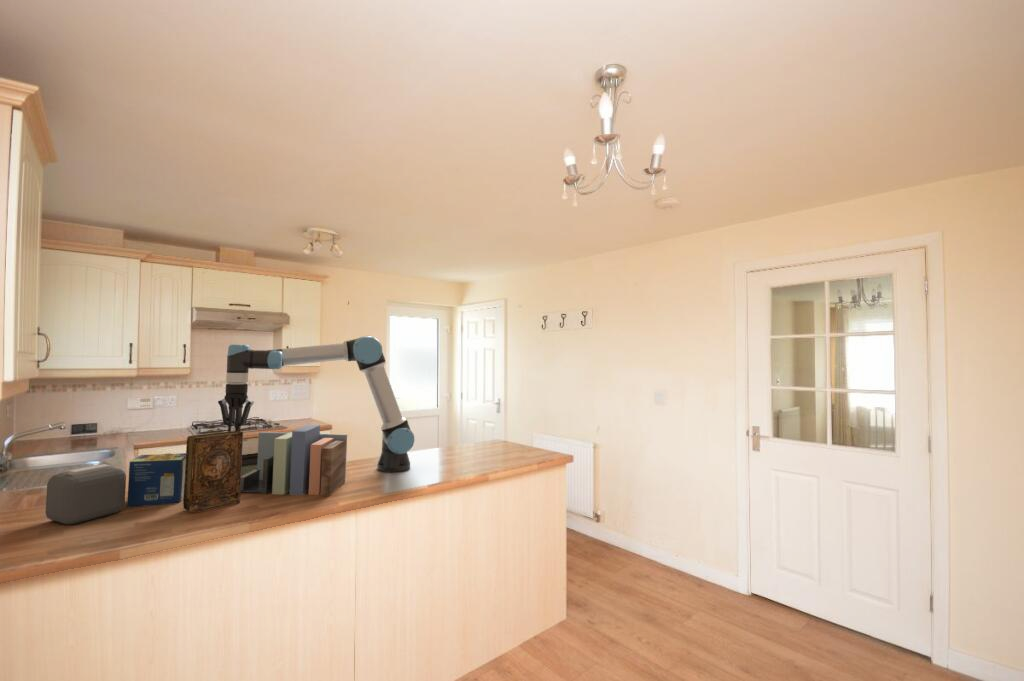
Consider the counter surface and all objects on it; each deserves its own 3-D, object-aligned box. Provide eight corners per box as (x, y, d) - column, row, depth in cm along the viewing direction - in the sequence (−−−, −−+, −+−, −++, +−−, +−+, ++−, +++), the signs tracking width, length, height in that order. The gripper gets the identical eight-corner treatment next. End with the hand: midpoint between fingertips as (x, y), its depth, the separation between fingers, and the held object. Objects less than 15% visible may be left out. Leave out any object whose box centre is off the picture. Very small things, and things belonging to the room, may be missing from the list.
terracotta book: (331, 484, 192) (333, 438, 193) (319, 494, 178) (321, 444, 179) (322, 483, 192) (324, 437, 192) (308, 494, 178) (310, 444, 178)
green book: (300, 483, 192) (302, 432, 193) (284, 494, 177) (286, 439, 178) (289, 482, 192) (291, 431, 192) (272, 494, 177) (274, 438, 178)
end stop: (344, 483, 194) (345, 439, 194) (329, 496, 177) (331, 448, 177) (335, 483, 194) (337, 439, 194) (320, 495, 177) (322, 448, 177)
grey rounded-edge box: (107, 506, 158) (109, 460, 158) (128, 511, 154) (130, 464, 154) (44, 522, 143) (47, 471, 143) (66, 528, 139) (69, 476, 139)
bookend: (285, 481, 192) (286, 450, 193) (266, 493, 176) (267, 459, 177) (256, 481, 192) (258, 449, 192) (235, 493, 176) (236, 458, 176)
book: (235, 499, 170) (238, 430, 170) (242, 502, 166) (245, 432, 167) (182, 510, 157) (186, 436, 157) (189, 514, 153) (192, 438, 154)
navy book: (317, 483, 192) (320, 425, 193) (302, 494, 177) (305, 431, 178) (305, 483, 192) (307, 424, 193) (289, 494, 177) (292, 431, 178)
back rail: (345, 482, 195) (347, 434, 196) (344, 482, 194) (346, 434, 195) (258, 480, 194) (260, 432, 195) (256, 481, 193) (258, 432, 193)
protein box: (138, 497, 168) (140, 454, 168) (188, 494, 173) (190, 452, 174) (125, 507, 158) (128, 461, 158) (179, 503, 164) (181, 459, 164)
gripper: (258, 383, 189) (255, 441, 188) (225, 382, 188) (222, 440, 188) (248, 384, 181) (245, 445, 181) (214, 383, 181) (211, 444, 180)
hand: (233, 442), depth 184 cm, fingers closed
